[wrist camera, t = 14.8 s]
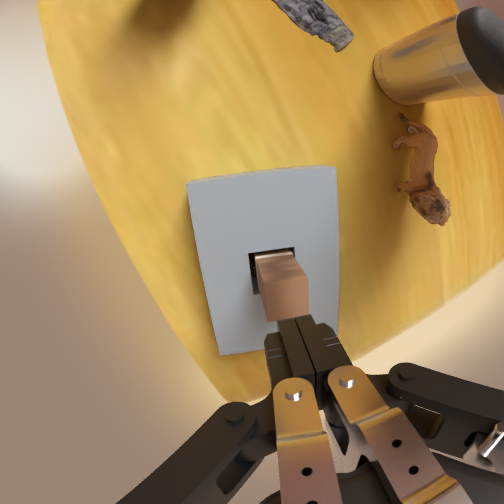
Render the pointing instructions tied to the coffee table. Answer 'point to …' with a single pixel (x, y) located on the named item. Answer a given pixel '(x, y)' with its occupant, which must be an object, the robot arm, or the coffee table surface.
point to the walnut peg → (281, 284)
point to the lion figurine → (423, 175)
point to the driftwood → (318, 21)
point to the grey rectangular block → (265, 245)
